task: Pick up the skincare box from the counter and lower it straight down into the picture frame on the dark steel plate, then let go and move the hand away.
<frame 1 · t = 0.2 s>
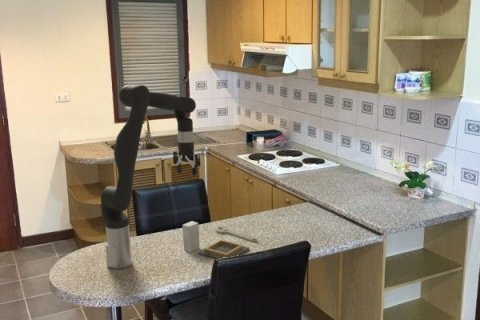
hand: (187, 174, 244), 29 cm above the breakfast bar, tool pointing down, fingers open, 8 cm apart
skincare box: (191, 249, 230), on the breakfast bar
adjustable wrench: (234, 237, 244), on the breakfast bar
picture frame: (223, 252, 226), on the breakfast bar
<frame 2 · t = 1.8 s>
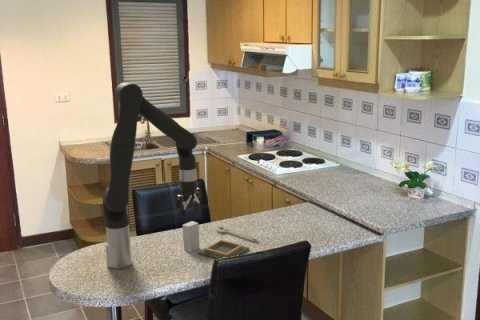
hand: (190, 214, 226), 16 cm above the breakfast bar, tool pointing down, fingers open, 8 cm apart
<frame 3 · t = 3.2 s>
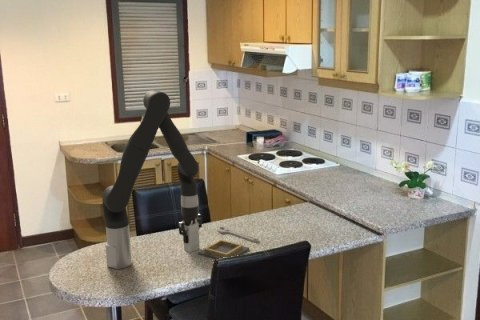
hand: (191, 240, 229), 4 cm above the breakfast bar, tool pointing down, fingers closed on skincare box, 6 cm apart
skincare box: (191, 249, 230), on the breakfast bar, touching gripper
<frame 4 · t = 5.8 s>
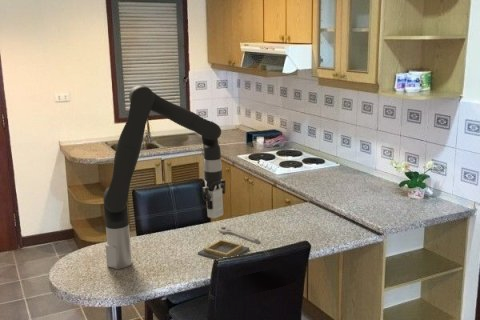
hand: (215, 206, 223), 20 cm above the breakfast bar, tool pointing down, fingers closed on skincare box, 6 cm apart
skincare box: (215, 216, 224), point 16 cm above the breakfast bar, touching gripper
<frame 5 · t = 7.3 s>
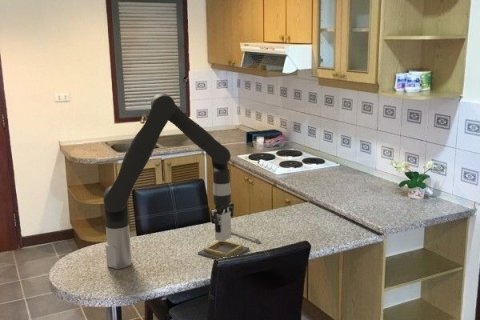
hand: (223, 229, 224), 10 cm above the breakfast bar, tool pointing down, fingers closed on skincare box, 6 cm apart
skincare box: (223, 239, 225), point 6 cm above the breakfast bar, touching gripper
when the fingers open (7 cm above the breakfast bar, at t = 8.5 s): skincare box drops 2 cm, resting on picture frame.
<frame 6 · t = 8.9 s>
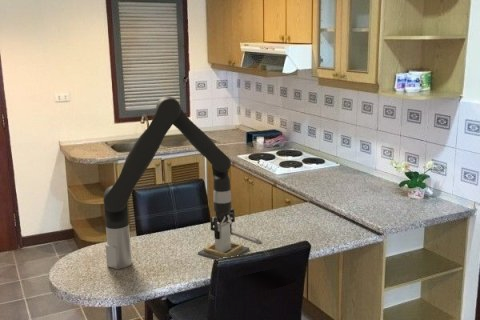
hand: (223, 235, 224), 8 cm above the breakfast bar, tool pointing down, fingers open, 8 cm apart
skincare box: (223, 250, 225), point 1 cm above the breakfast bar, touching picture frame
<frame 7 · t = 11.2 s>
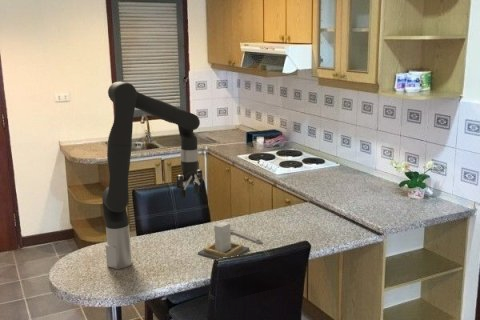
hand: (190, 195, 227), 24 cm above the breakfast bar, tool pointing down, fingers open, 8 cm apart
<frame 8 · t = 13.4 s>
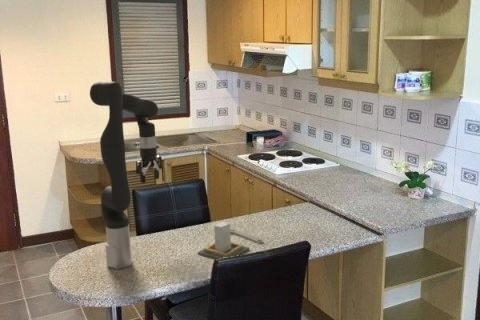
hand: (150, 180, 236), 28 cm above the breakfast bar, tool pointing down, fingers open, 8 cm apart
at the end: skincare box 0.5 cm off-centre on the picture frame, point 0.8 cm above the picture frame's base; skincare box tilted 0°; the gripper is holding nothing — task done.
